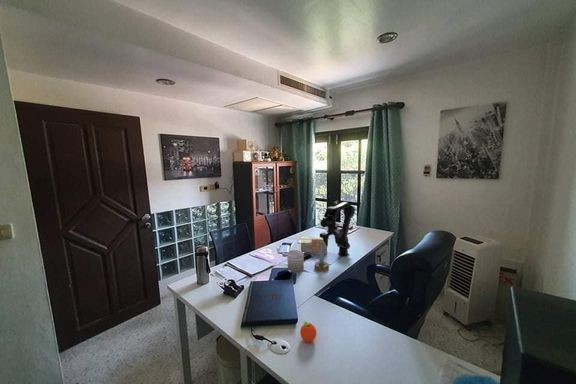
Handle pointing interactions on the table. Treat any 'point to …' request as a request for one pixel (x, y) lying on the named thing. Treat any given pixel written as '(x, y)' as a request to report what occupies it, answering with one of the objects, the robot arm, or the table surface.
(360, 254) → the table surface
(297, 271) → the can
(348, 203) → the robot arm
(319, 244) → the stack of blocks
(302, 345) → the table surface
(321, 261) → the peg
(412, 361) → the table surface
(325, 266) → the brown ring
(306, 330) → the clementine
